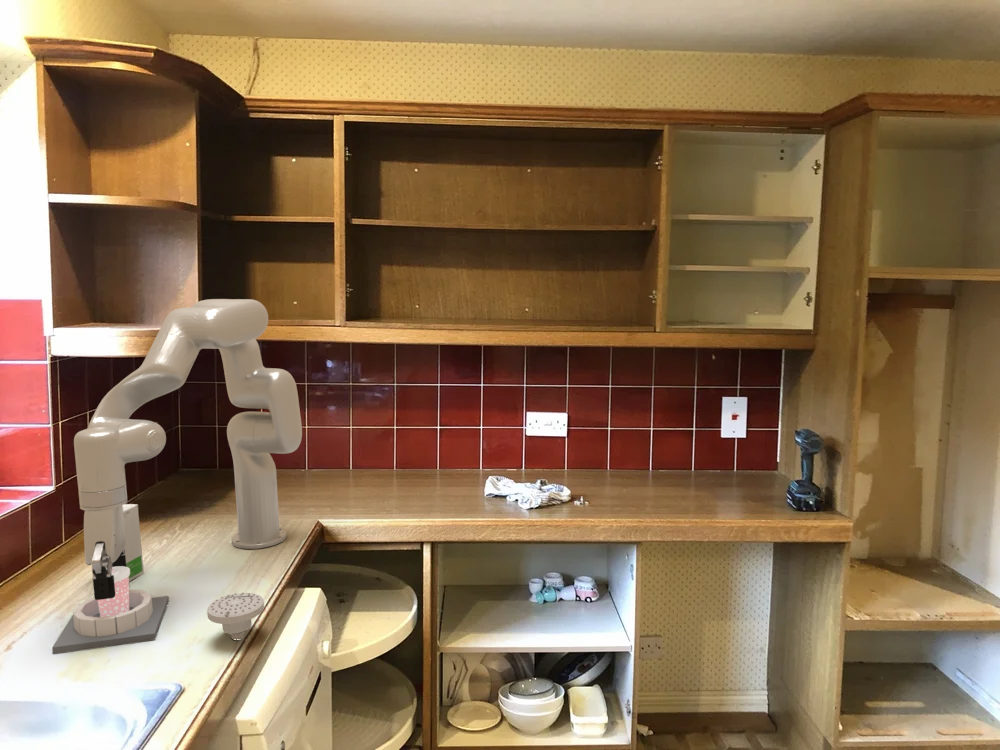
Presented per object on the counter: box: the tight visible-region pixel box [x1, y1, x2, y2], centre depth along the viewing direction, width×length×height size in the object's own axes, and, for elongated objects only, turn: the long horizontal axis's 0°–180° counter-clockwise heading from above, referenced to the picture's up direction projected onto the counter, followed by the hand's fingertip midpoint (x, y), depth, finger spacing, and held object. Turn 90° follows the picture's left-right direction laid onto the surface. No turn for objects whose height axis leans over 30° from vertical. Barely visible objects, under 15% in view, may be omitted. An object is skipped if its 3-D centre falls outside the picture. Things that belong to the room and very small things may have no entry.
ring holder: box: [51, 588, 170, 655], centre depth 133 cm, size 16×16×4 cm
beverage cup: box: [91, 558, 130, 617], centre depth 133 cm, size 6×6×14 cm
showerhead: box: [206, 592, 265, 640], centre depth 128 cm, size 9×7×10 cm
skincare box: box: [91, 503, 145, 582], centre depth 153 cm, size 8×7×16 cm
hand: (111, 587), depth 133 cm, fingers open, 9 cm apart
